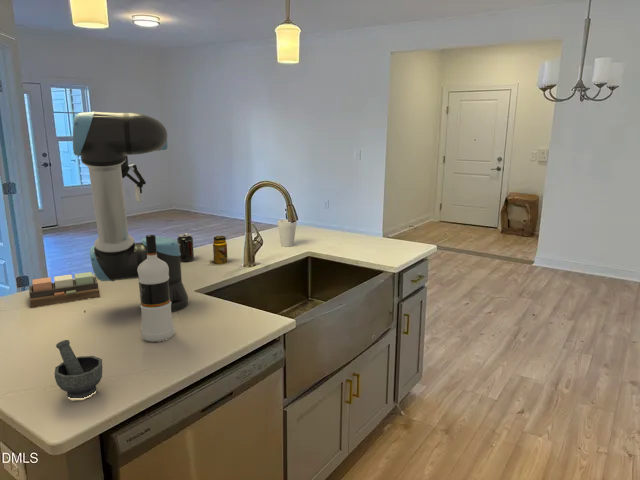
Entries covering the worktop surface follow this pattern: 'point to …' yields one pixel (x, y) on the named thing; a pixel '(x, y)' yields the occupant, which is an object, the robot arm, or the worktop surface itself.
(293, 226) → the foam cup
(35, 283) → the terracotta key
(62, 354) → the mortar and pestle
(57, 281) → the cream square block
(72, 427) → the worktop surface
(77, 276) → the sage key
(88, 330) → the worktop surface
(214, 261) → the condiment
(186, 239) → the beverage can
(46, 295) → the keypad
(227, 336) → the worktop surface
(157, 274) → the vodka
